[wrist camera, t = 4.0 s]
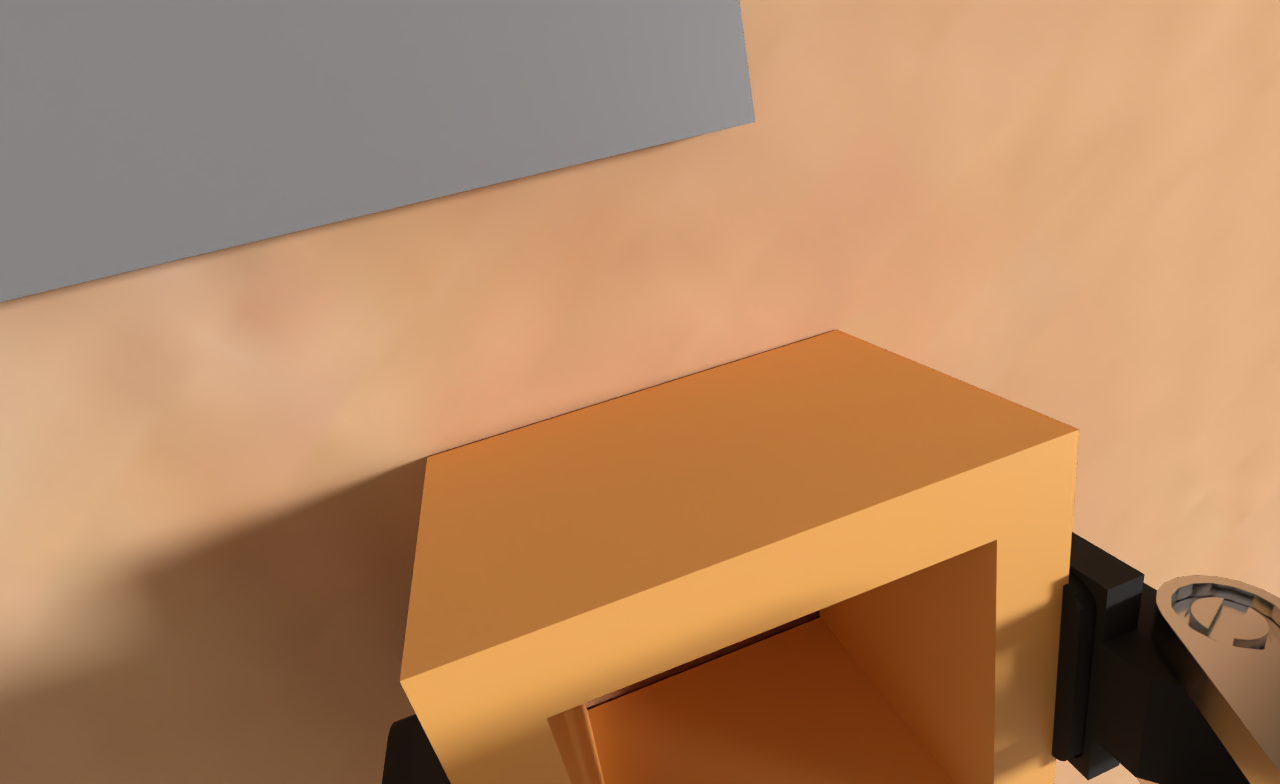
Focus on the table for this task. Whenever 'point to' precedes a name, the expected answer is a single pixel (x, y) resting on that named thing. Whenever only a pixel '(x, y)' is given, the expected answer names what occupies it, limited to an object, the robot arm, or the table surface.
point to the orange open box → (750, 582)
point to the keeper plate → (321, 112)
